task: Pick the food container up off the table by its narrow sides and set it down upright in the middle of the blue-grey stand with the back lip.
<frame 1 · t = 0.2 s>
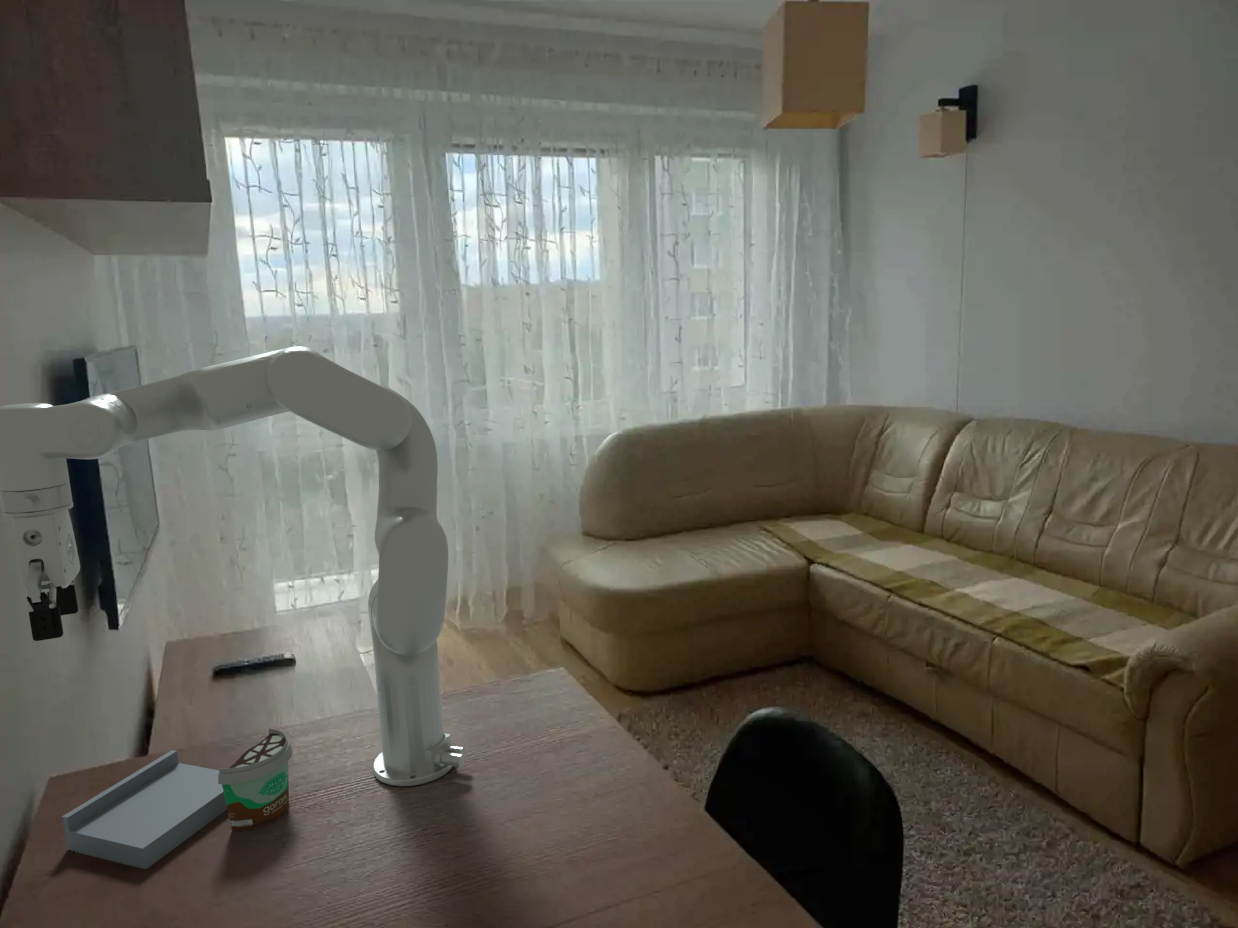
hand: (57, 625, 111), 31 cm above the table, tool pointing down, fingers open, 9 cm apart
food container: (271, 814, 120), on the table
stand: (162, 820, 119), on the table
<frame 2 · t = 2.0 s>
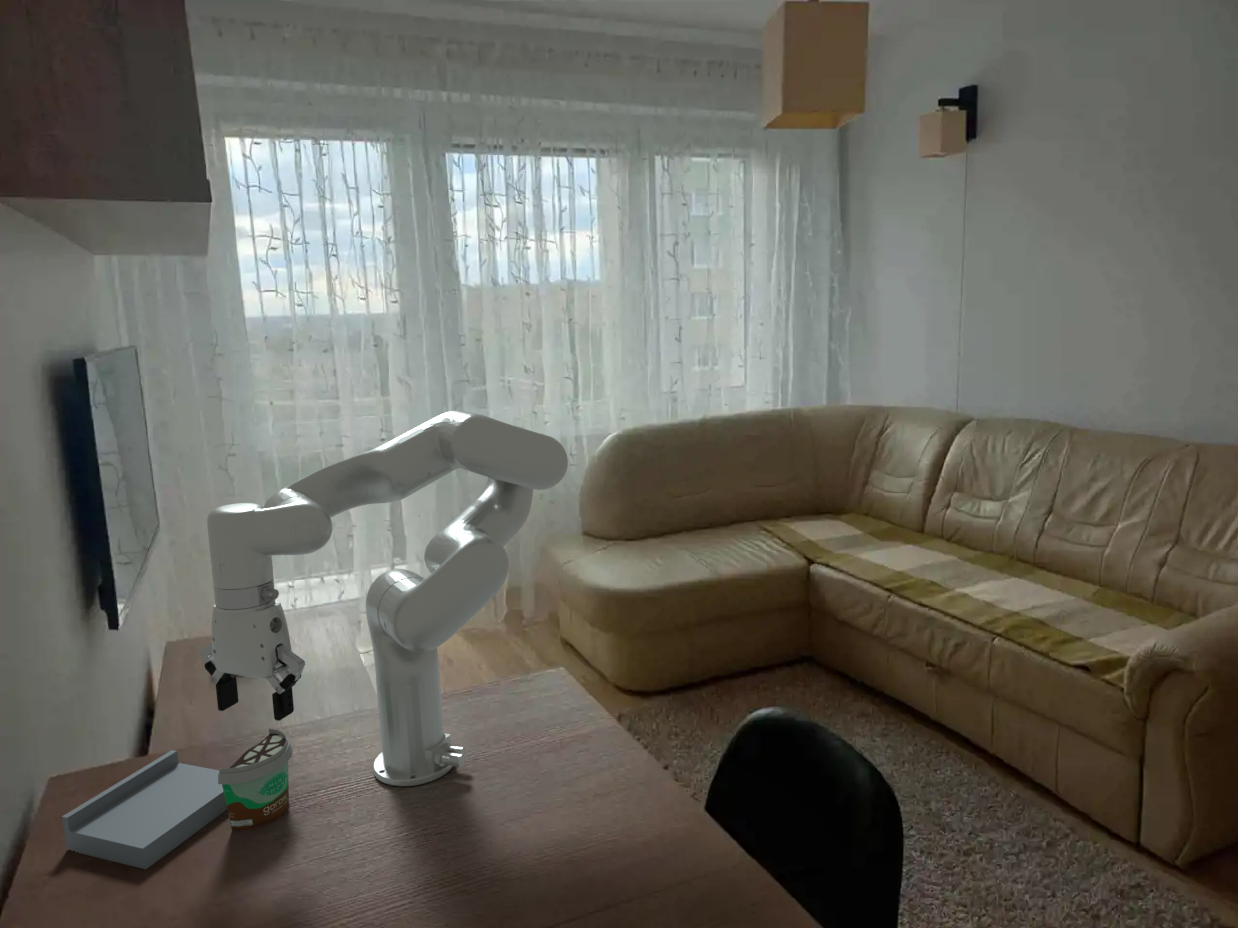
hand: (256, 711, 117), 16 cm above the table, tool pointing down, fingers open, 9 cm apart
nothing on the table moved.
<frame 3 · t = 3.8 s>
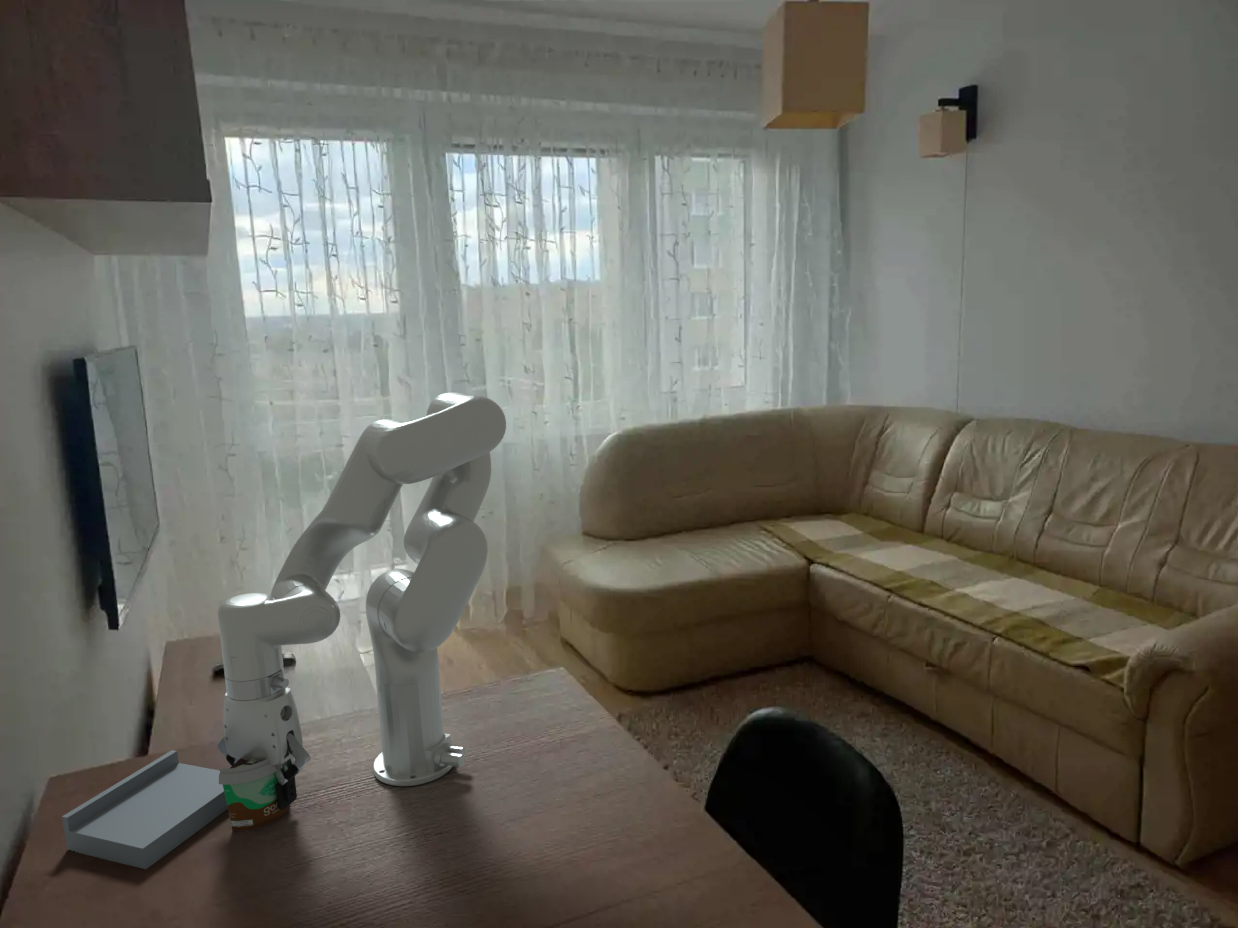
hand: (268, 799, 120), 2 cm above the table, tool pointing down, fingers open, 5 cm apart
food container: (272, 814, 120), on the table, touching gripper
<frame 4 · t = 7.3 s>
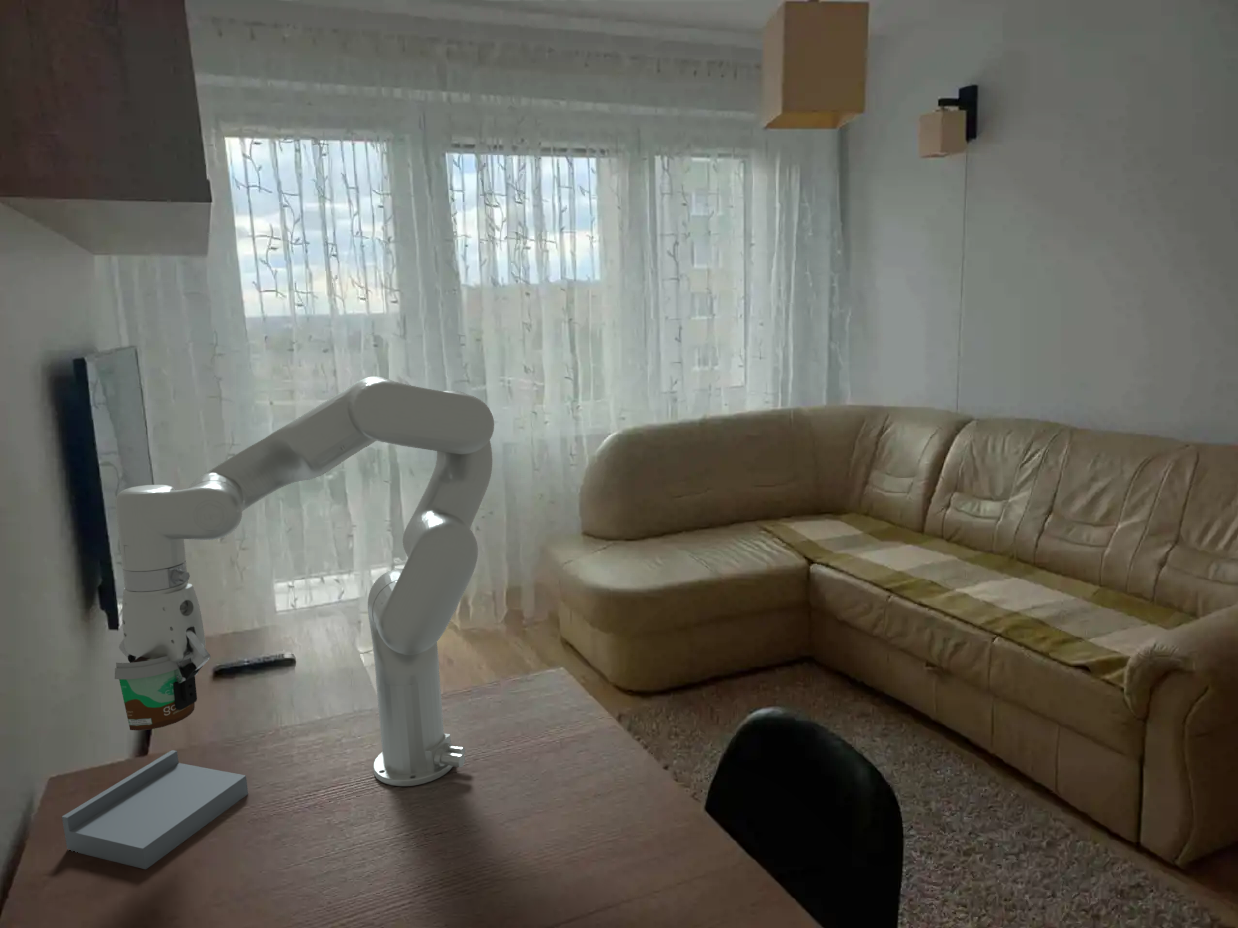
hand: (169, 701, 116), 18 cm above the table, tool pointing down, fingers closed on food container, 5 cm apart
food container: (175, 717, 116), point 16 cm above the table, touching gripper
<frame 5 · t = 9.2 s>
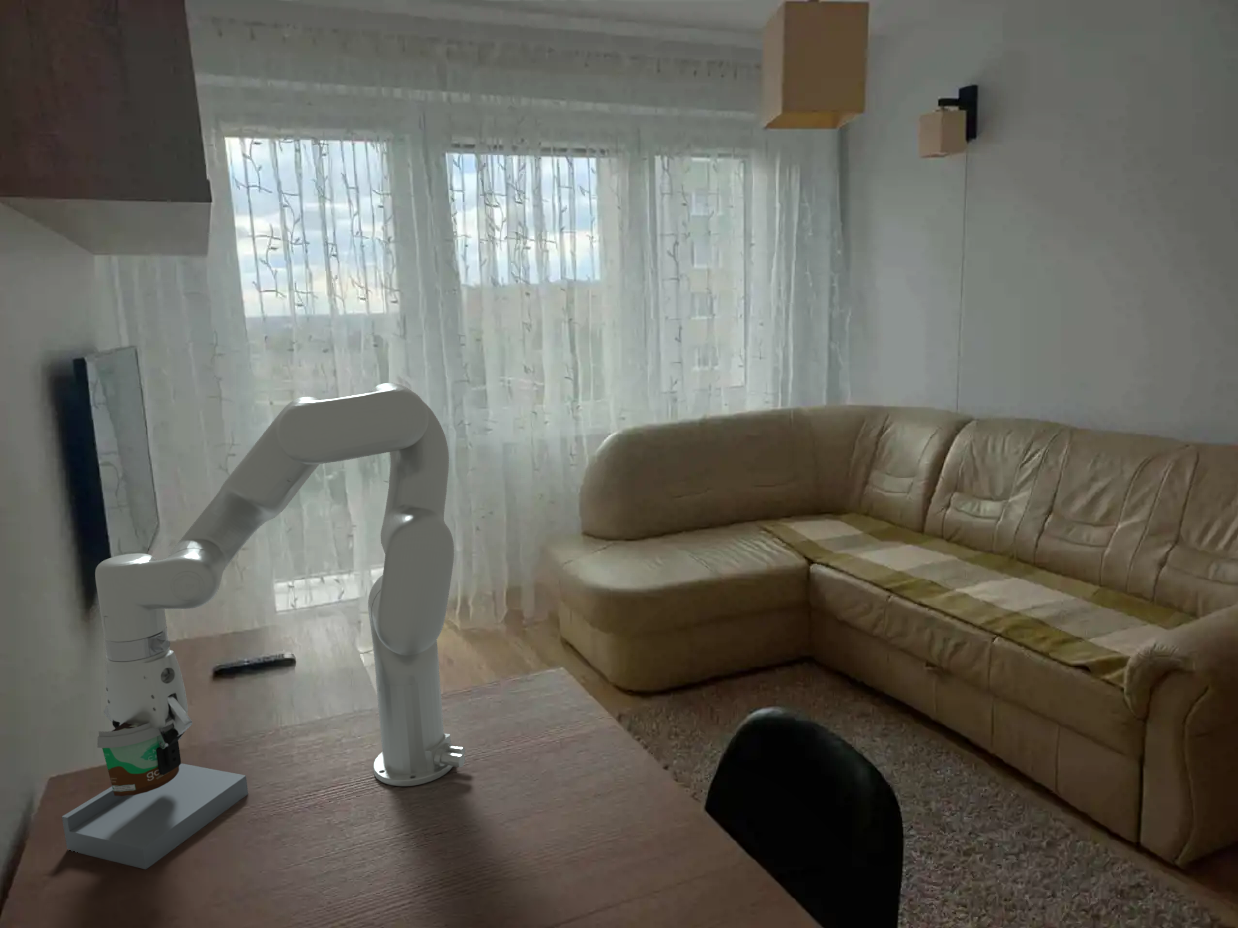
hand: (153, 765, 118), 9 cm above the table, tool pointing down, fingers closed on food container, 5 cm apart
food container: (159, 780, 118), point 6 cm above the table, touching gripper
when the fingers open (6 cm above the table, at t = 10.5 s): food container drops 1 cm, resting on stand.
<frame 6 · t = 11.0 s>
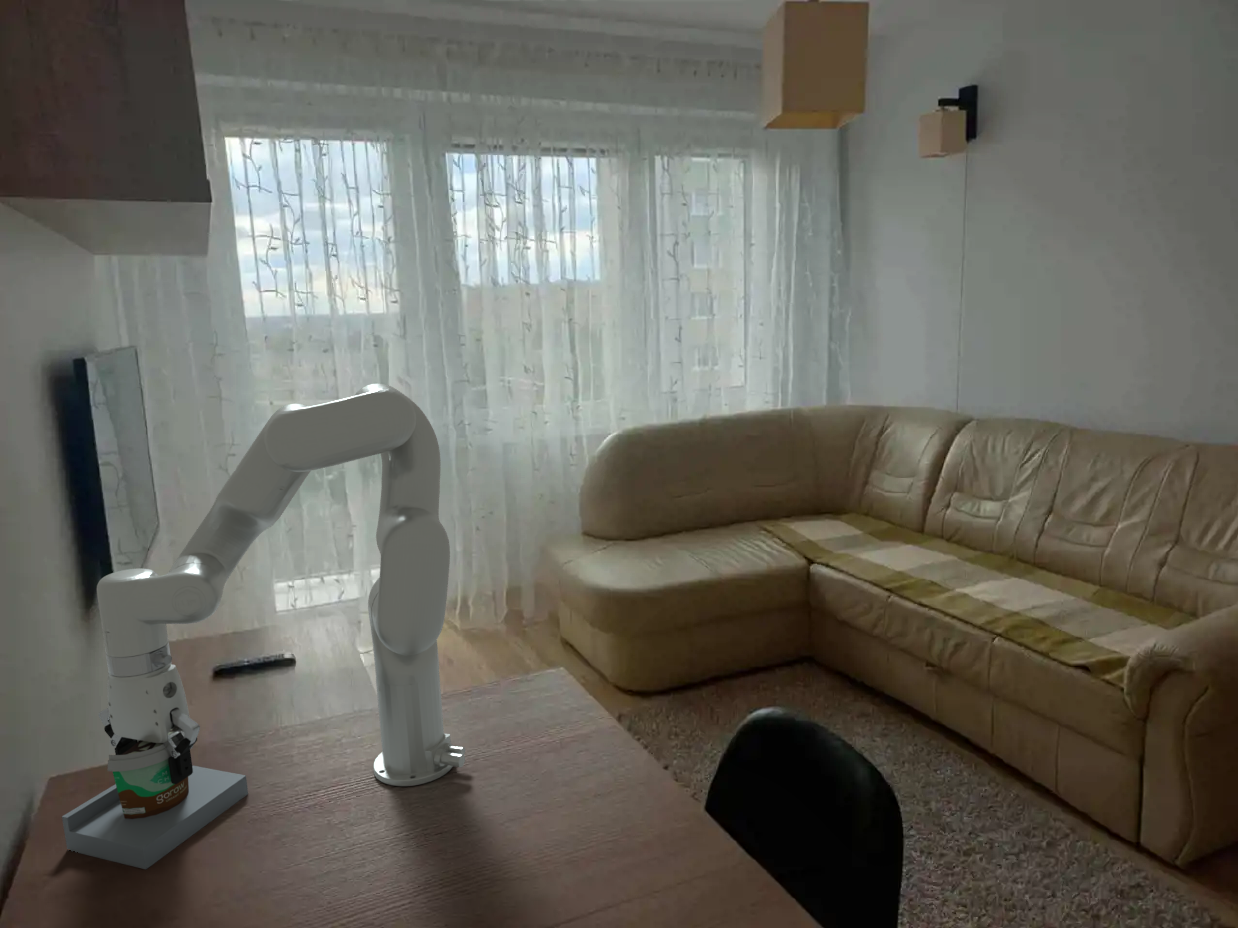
hand: (155, 773, 118), 7 cm above the table, tool pointing down, fingers open, 9 cm apart
food container: (169, 802, 118), point 3 cm above the table, touching stand
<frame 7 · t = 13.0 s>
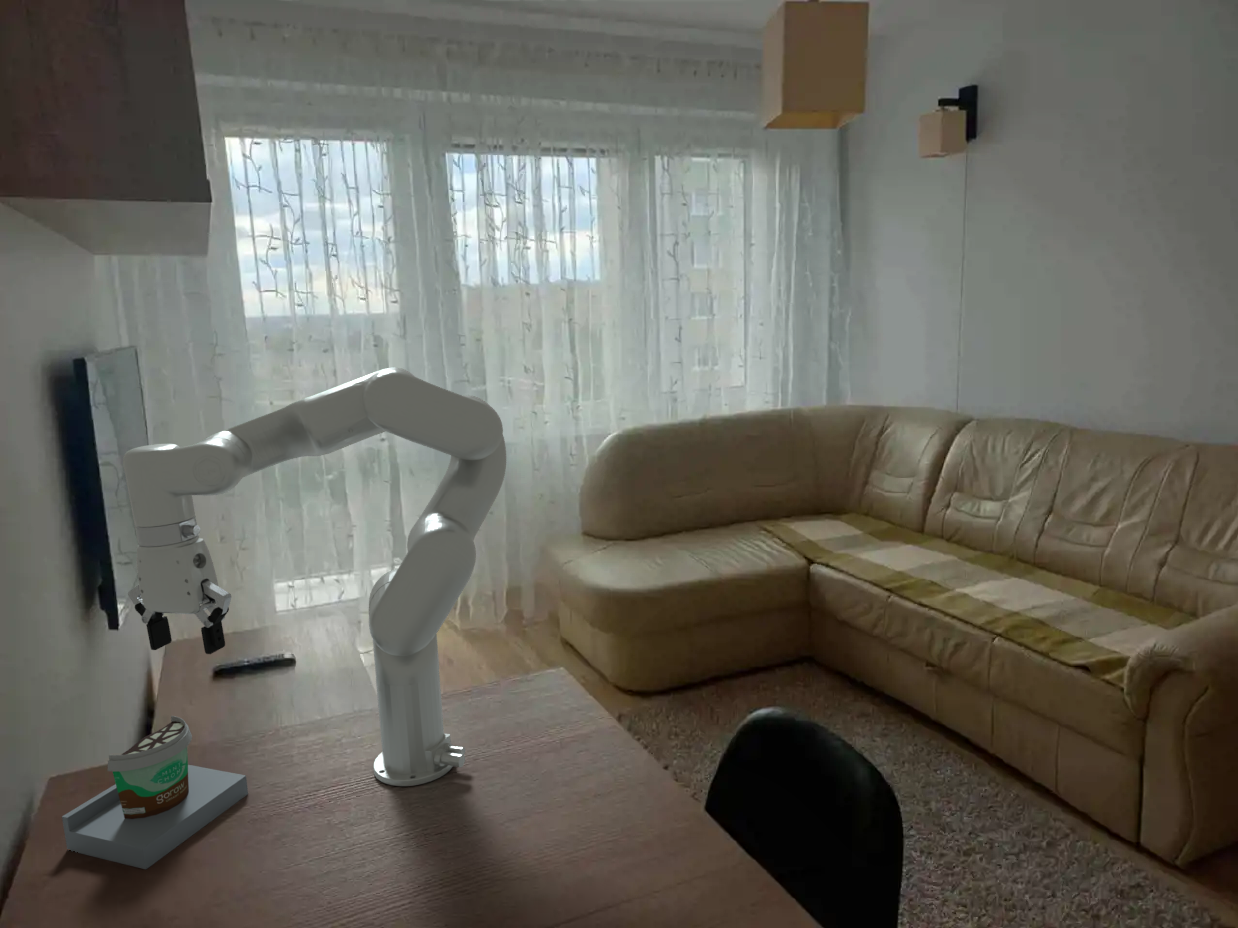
hand: (188, 648, 120), 24 cm above the table, tool pointing down, fingers open, 9 cm apart
nothing on the table moved.
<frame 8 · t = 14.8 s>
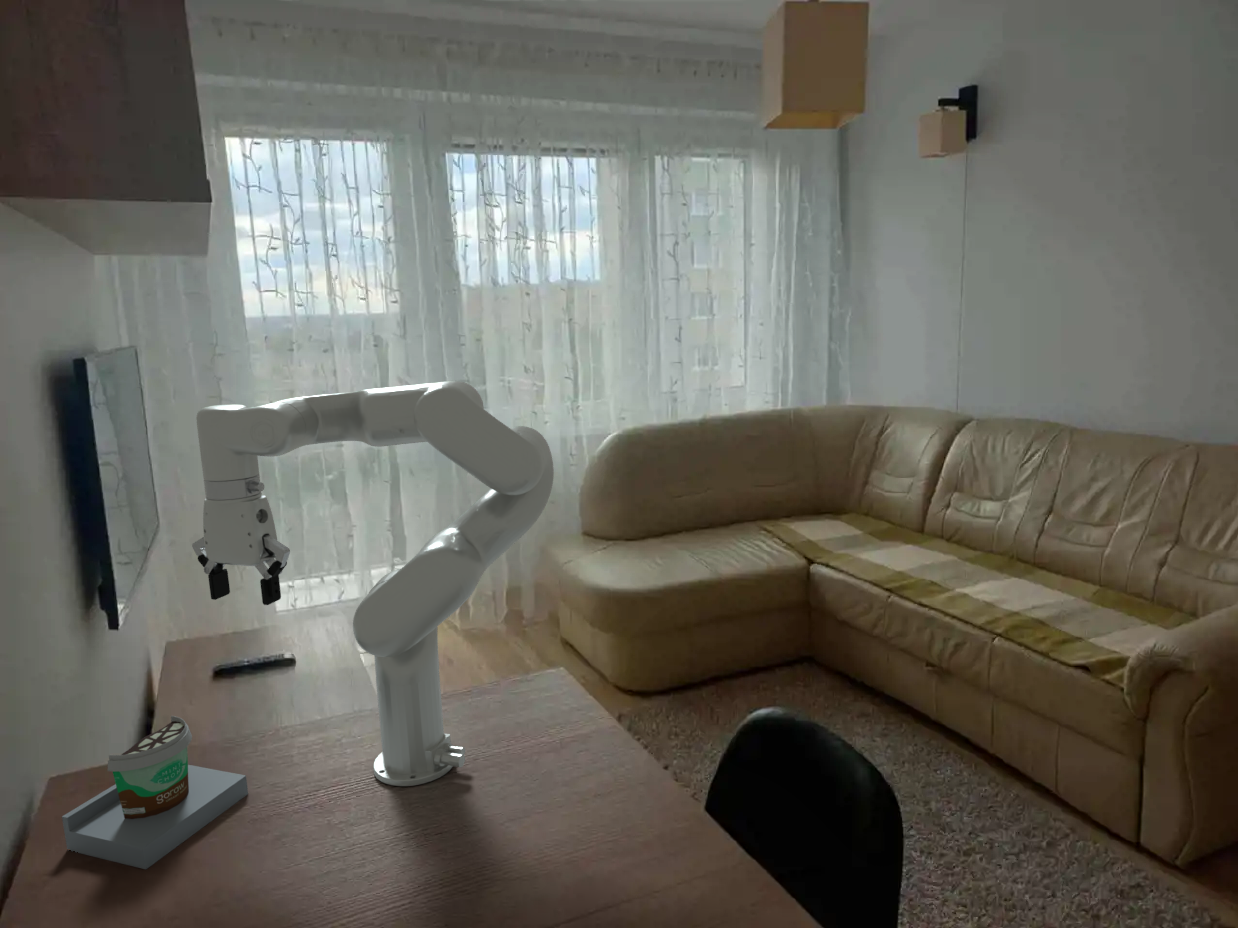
hand: (246, 599, 126), 28 cm above the table, tool pointing down, fingers open, 9 cm apart
nothing on the table moved.
at the end: food container inside the target area on the stand (1.4 cm from its centre), point 2.8 cm above the stand's base; food container tilted 0°; the gripper is holding nothing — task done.
